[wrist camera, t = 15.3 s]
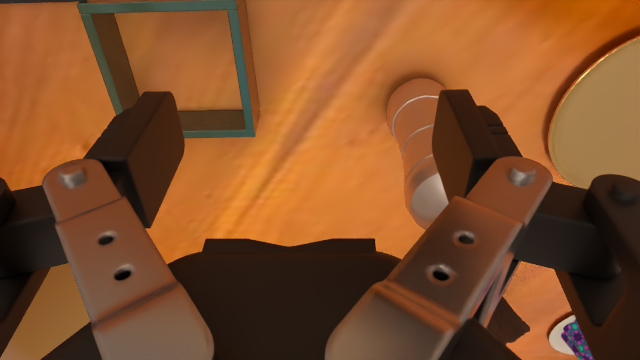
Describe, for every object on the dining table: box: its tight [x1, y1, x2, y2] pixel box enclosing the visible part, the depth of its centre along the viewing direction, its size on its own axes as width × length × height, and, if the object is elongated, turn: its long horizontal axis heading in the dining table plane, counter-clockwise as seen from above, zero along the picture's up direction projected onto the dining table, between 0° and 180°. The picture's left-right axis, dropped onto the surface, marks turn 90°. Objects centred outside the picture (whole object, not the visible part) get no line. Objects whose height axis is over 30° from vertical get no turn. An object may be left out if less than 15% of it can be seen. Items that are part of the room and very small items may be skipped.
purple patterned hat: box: [549, 315, 594, 360], centre depth 65 cm, size 12×12×5 cm
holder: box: [77, 0, 260, 138], centre depth 40 cm, size 13×13×4 cm
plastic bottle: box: [386, 78, 448, 230], centre depth 36 cm, size 6×7×20 cm
